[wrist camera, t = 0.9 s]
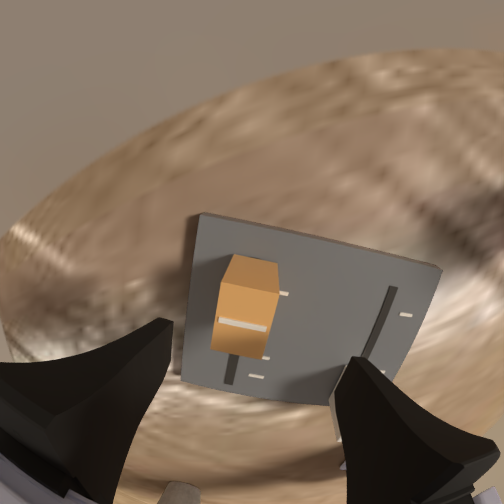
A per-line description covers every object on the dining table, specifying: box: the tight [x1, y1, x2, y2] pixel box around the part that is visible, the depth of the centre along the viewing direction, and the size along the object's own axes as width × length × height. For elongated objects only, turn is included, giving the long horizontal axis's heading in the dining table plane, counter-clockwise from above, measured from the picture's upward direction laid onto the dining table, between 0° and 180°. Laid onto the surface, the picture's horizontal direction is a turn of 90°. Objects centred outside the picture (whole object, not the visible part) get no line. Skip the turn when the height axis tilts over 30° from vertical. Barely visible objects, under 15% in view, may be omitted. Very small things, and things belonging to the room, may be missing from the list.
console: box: [181, 212, 443, 406], centre depth 20 cm, size 14×18×1 cm
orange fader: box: [210, 254, 280, 360], centre depth 16 cm, size 4×3×5 cm
